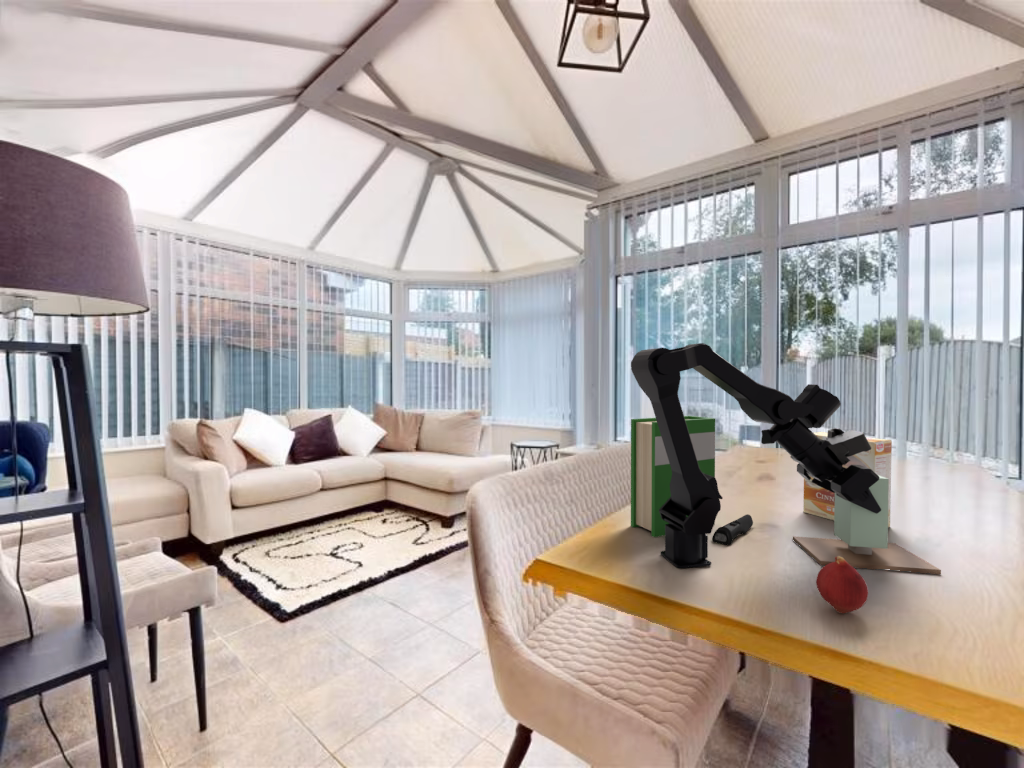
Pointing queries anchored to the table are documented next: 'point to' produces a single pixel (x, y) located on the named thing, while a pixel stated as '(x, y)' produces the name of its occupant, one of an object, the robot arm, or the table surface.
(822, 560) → the brown board
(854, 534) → the mint green prism
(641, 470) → the hardback book
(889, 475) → the coffeecake box
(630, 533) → the table surface
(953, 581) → the table surface
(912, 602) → the table surface
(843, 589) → the onion
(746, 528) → the electric trimmer
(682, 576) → the table surface
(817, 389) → the robot arm
